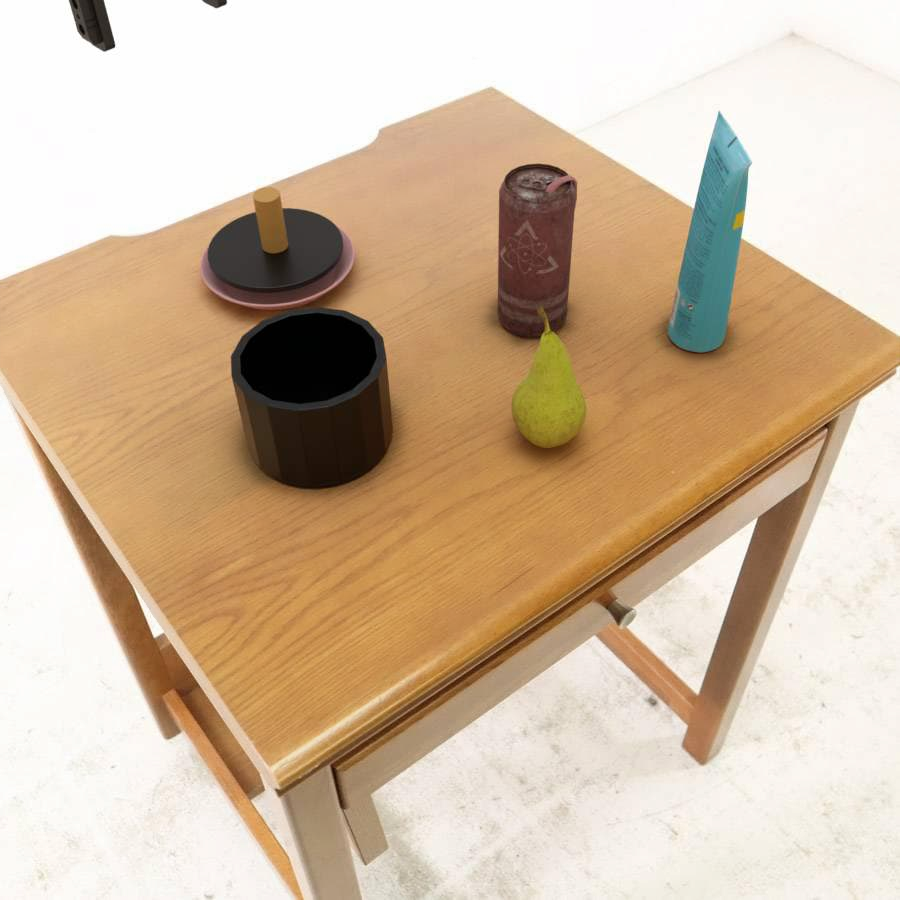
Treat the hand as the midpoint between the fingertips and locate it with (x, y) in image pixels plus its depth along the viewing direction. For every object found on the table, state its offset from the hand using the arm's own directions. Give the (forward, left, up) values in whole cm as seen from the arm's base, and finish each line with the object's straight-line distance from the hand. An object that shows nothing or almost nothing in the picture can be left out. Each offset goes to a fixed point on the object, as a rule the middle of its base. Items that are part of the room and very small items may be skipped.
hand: (160, 24), depth 69 cm
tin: (-2, -11, -30) cm, 32 cm away
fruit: (+8, -26, -30) cm, 41 cm away
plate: (+12, +6, -30) cm, 33 cm away
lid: (+12, +6, -28) cm, 31 cm away
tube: (+26, -30, -30) cm, 50 cm away
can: (+20, -17, -30) cm, 40 cm away
